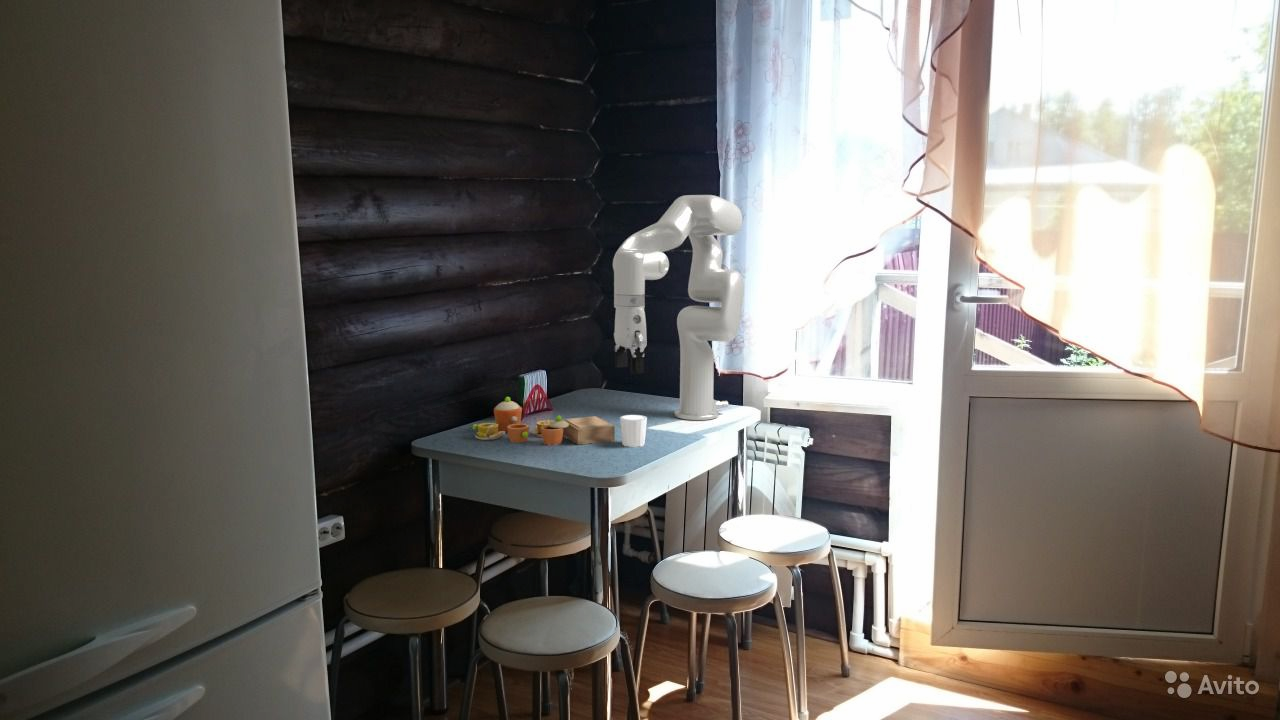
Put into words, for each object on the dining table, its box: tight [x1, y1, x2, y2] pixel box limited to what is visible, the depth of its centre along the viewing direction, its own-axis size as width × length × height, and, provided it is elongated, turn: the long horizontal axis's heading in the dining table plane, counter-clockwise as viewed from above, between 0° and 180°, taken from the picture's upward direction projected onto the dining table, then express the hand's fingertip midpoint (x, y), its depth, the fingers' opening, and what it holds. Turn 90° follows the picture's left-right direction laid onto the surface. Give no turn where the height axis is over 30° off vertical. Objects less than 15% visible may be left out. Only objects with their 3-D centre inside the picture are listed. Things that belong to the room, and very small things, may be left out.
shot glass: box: [619, 414, 648, 448], centre depth 230 cm, size 7×7×7 cm
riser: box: [562, 415, 616, 446], centre depth 237 cm, size 10×12×4 cm
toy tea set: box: [472, 396, 569, 446], centre depth 238 cm, size 26×16×10 cm, turn 70°
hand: (629, 370), depth 228 cm, fingers open, 9 cm apart
